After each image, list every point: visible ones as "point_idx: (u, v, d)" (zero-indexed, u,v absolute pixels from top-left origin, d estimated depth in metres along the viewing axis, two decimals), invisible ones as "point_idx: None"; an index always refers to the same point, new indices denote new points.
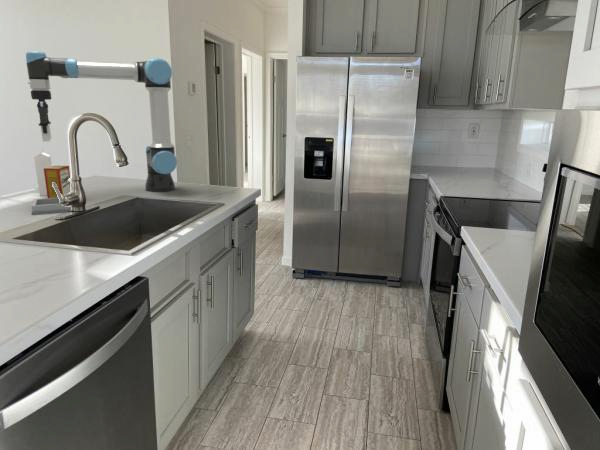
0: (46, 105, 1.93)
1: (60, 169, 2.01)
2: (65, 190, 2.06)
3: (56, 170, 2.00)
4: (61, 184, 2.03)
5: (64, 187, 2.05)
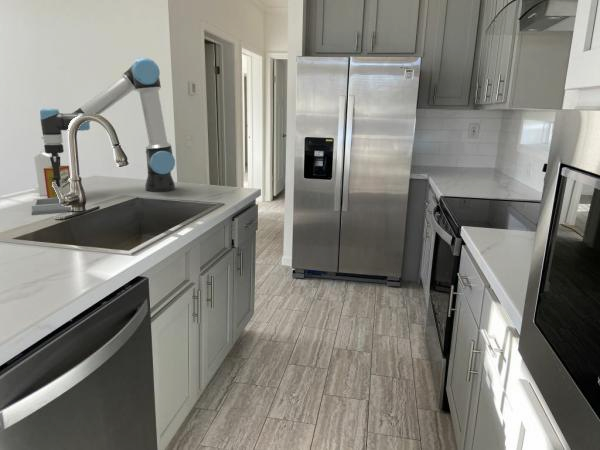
0: (59, 158, 2.02)
1: (60, 169, 2.01)
2: (65, 190, 2.06)
3: None
4: None
5: (64, 187, 2.05)
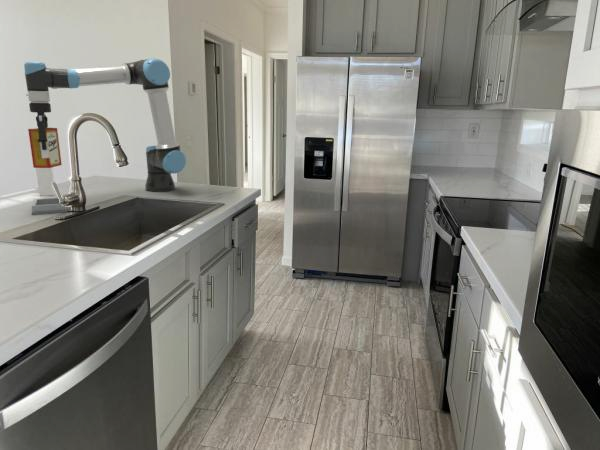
0: (45, 118, 1.82)
1: (47, 130, 1.81)
2: (53, 154, 1.86)
3: None
4: (48, 148, 1.83)
5: (51, 151, 1.84)
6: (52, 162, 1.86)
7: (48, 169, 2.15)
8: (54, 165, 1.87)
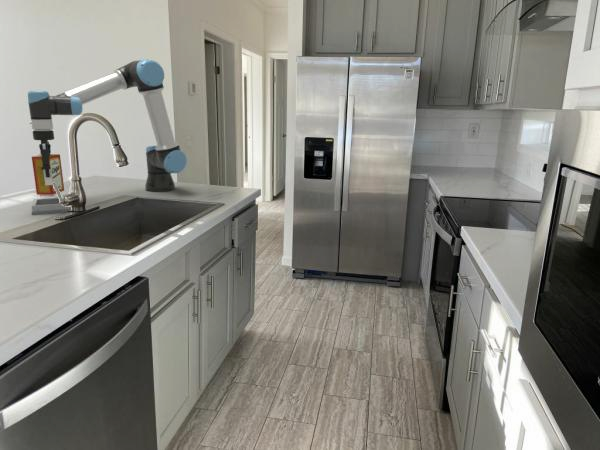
0: (49, 146, 1.83)
1: (50, 158, 1.83)
2: (56, 181, 1.88)
3: None
4: None
5: (54, 177, 1.86)
6: None
7: None
8: None
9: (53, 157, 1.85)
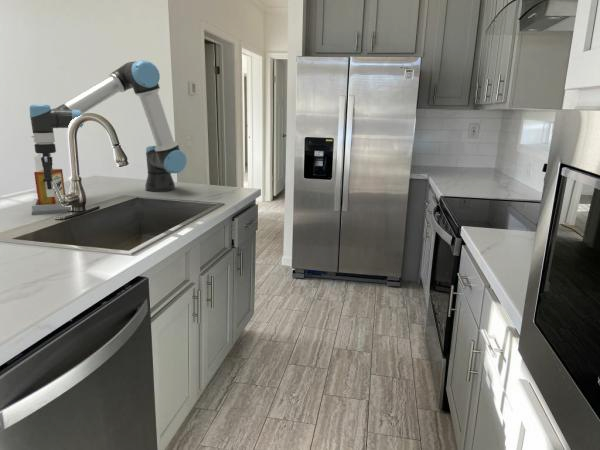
0: (50, 159, 1.85)
1: (52, 173, 1.84)
2: None
3: None
4: (54, 190, 1.86)
5: None
6: (58, 203, 1.89)
7: None
8: None
9: (55, 172, 1.87)
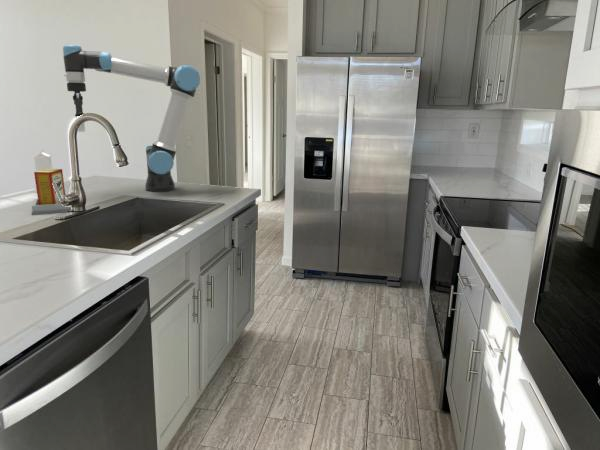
0: (81, 97, 2.01)
1: (52, 173, 1.84)
2: None
3: (48, 174, 1.83)
4: (54, 190, 1.86)
5: None
6: (58, 203, 1.89)
7: None
8: None
9: (55, 172, 1.87)
